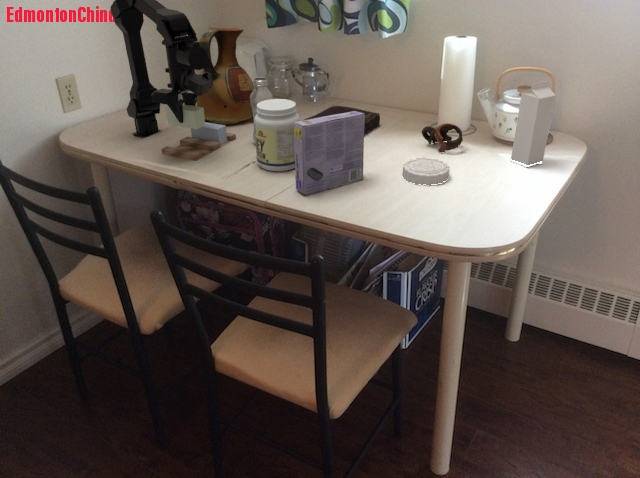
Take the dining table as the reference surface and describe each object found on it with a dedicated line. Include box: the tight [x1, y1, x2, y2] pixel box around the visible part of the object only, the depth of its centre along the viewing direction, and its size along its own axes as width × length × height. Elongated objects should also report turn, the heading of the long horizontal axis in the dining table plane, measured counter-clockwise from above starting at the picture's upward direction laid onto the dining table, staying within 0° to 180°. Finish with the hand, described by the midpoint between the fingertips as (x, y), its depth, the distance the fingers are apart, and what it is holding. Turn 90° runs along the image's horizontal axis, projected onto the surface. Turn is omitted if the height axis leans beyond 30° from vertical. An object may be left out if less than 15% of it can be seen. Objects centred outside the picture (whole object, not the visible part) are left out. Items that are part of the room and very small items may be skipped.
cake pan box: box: [294, 111, 365, 196], centre depth 142 cm, size 19×5×18 cm, turn 123°
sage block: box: [165, 103, 206, 129], centre depth 160 cm, size 10×4×5 cm, turn 63°
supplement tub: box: [253, 98, 301, 172], centre depth 154 cm, size 12×12×17 cm
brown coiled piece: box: [421, 123, 464, 153], centre depth 166 cm, size 12×10×8 cm
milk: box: [510, 80, 556, 165], centre depth 151 cm, size 6×6×22 cm
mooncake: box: [401, 157, 450, 186], centre depth 149 cm, size 12×12×4 cm
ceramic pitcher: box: [196, 26, 255, 125], centre depth 185 cm, size 20×20×30 cm
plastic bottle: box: [250, 77, 274, 146], centre depth 165 cm, size 6×7×20 cm
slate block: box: [190, 121, 227, 145], centre depth 171 cm, size 10×4×5 cm, turn 63°
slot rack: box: [161, 131, 237, 162], centre depth 168 cm, size 12×20×2 cm, turn 153°
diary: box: [301, 105, 381, 136], centre depth 180 cm, size 19×25×5 cm
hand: (186, 120), depth 160 cm, fingers closed on sage block, 4 cm apart
